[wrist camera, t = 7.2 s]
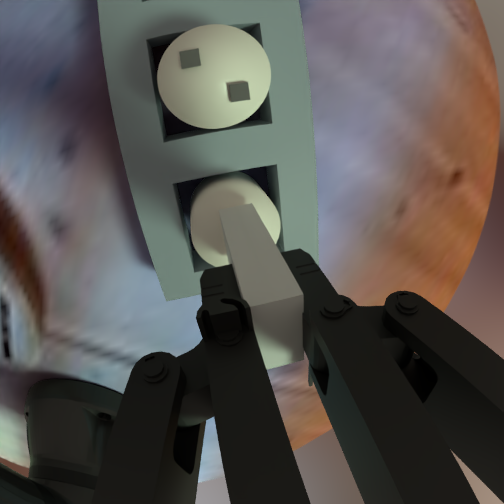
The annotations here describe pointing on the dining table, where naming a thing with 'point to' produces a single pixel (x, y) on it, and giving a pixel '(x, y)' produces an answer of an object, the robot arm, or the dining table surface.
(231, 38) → the button
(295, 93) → the button board
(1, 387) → the dining table surface
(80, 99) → the dining table surface
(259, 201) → the button
